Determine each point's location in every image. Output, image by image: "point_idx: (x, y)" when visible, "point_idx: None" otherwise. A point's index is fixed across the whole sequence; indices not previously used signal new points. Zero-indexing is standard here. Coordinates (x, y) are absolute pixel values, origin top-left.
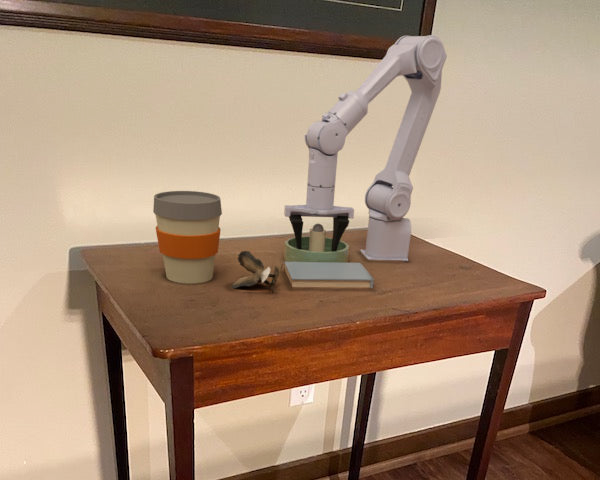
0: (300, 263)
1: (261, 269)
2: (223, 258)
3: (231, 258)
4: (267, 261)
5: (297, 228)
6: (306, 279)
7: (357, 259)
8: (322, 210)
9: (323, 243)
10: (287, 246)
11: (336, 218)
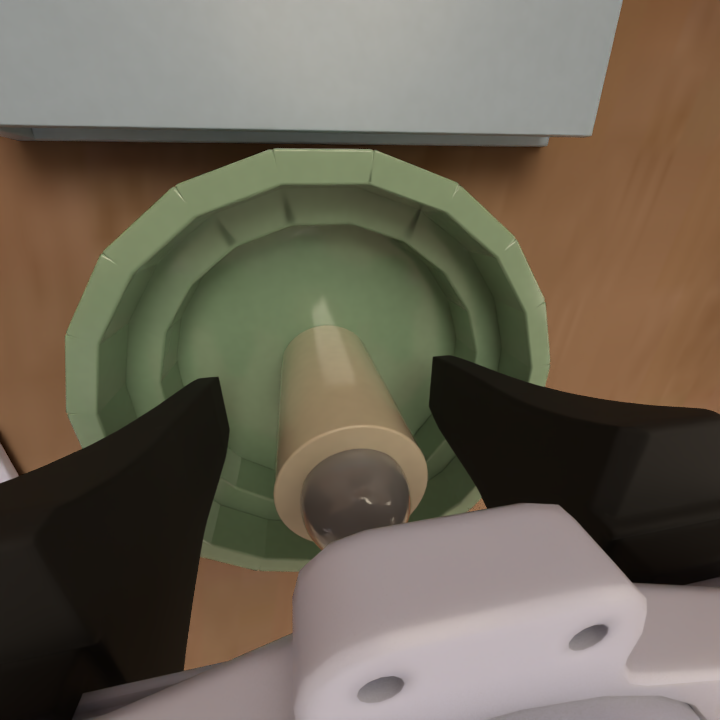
0: (498, 82)
1: None
2: (705, 362)
3: (677, 367)
4: (554, 345)
5: (596, 404)
6: None
7: (73, 450)
8: (470, 714)
9: (295, 391)
10: (545, 340)
11: (112, 675)
